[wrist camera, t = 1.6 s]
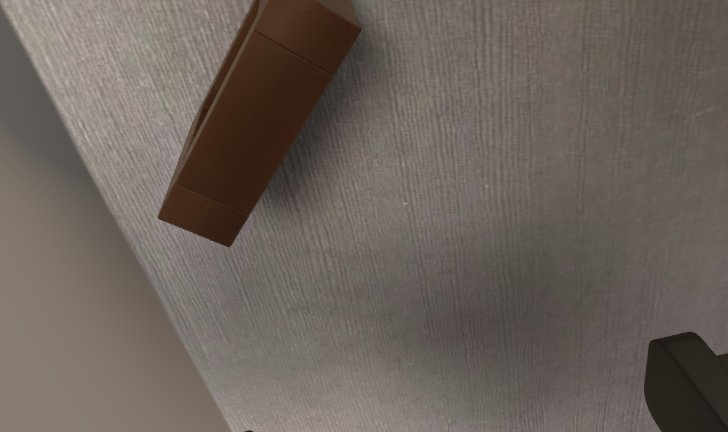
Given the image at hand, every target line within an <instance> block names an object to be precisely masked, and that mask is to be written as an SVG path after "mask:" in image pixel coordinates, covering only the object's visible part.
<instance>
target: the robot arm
mask: <svg viewBox="0 0 728 432" xmlns="http://www.w3.org/2000/svg"><path fill="white" fill-rule="evenodd" d="M644 394H645V399H646V403H647V406H648V409H649V411H650V413H651V415H652V417H653V419H654V421H655V422H656V424H657V425H658V427H659V429H660V430H661V432H728V354H723V355H719V356H716V355H715V354H714V352H713V351H712V350H711V349H710V348H709V347H708V345H707V344H706V343H705V342H704V341H703V340H702V338H701V337H700V336H698V335H697V334H696V333H694V332H686V333H681V334H677V335H672V336H668V337H664V338H659V339H655V340H652V341H651V342H650V344H649V349H648V358H647V366H646V375H645V383H644ZM245 432H253V431H251V430H249V431H245Z"/></svg>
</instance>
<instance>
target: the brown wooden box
mask: <svg viewBox="0 0 728 432" xmlns="http://www.w3.org/2000/svg"><path fill="white" fill-rule="evenodd" d="M360 32H361V26H360V24H359V21H358V19H357V16H356V14H355V11H354V9H353V6H352V4H351V1H350V0H253V2H252V4H251V6H250V8H249V10H248V12H247V14H246V16H245V18H244V20H243V22H242V24H241V26H240V28H239V30H238V32H237V34H236V36H235V38H234V40H233V42H232V44H231V46H230V48H229V50H228V52H227V54H226V56H225V58H224V60H223V62H222V64H221V66H220V68H219V70H218V72H217V75H216V77H215V79H214V81H213V83H212V85H211V87H210V89H209V91H208V93H207V95H206V97H205V99H204V101H203V103H202V105H201V107H200V109H199V111H198V113H197V115H196V117H195V119H194V121H193V123H192V125H191V128H190V131H189V133H188V136H187V139H186V142H185V144H184V147H183V150H182V152H181V155H180V158H179V161H178V163H177V166H176V169H175V171H174V174H173V177H172V179H171V182H170V185H169V188H168V190H167V193H166V196H165V198H164V201H163V204H162V207H161V209H160V212H159V215H158V219H160V220H162V221H165V222H167V223H170V224H172V225H175V226H177V227H180V228H182V229H185V230H187V231H190V232H192V233H194V234H197V235H199V236H202V237H204V238H207V239H209V240H212V241H214V242H217V243H219V244H222V245H224V246H227V247H230V246H231V245H232V244H233V242H234V240H235V239H236V237H237V235H238V234H239V232H240V230H241V229H242V227H243V225H244V224H245V222H246V220H247V219H248V217H249V214H251V212H252V211H253V209H254V207H255V206H256V204H257V202H258V201H259V199H260V197H261V196H262V194H263V192H264V191H265V189H266V187H267V186H268V184H269V182H270V181H271V179H272V177H273V176H274V174H275V172H276V171H277V169H278V167H279V166H280V164H281V162H282V161H283V159H284V157H285V156H286V154H287V153H288V151H289V149H290V148H291V146H292V144H293V143H294V141H295V139H296V138H297V136H298V134H299V133H300V131H301V129H302V128H303V126H304V124H305V123H306V121H307V119H308V118H309V116H310V114H311V113H312V111H313V109H314V108H315V106H316V104H317V103H318V101H319V99H320V98H321V96H322V94H323V93H324V91H325V89H326V88H327V86H328V84H329V83H330V81H331V79H332V78H333V75H334V74H335V73H336V71H337V70H338V68H339V66H340V65H341V63H342V61H343V60H344V58H345V56H346V55H347V53H348V52H349V50H350V48H351V47H352V45H353V43H354V42H355V40H356V38H357V37H358V35H359V33H360Z"/></svg>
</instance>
